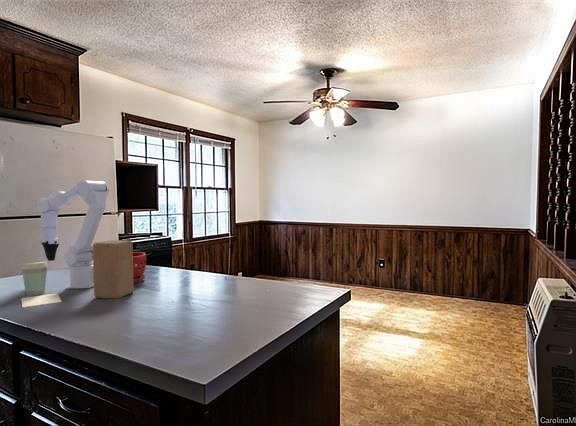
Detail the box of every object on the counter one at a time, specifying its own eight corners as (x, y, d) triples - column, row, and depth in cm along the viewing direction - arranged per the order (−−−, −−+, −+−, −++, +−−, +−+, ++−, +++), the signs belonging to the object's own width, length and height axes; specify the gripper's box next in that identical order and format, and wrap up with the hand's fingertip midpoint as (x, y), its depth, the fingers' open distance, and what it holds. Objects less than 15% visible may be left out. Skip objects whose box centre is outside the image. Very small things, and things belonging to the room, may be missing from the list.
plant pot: (113, 280, 162) (113, 253, 162) (145, 277, 168) (144, 251, 167) (113, 286, 150) (112, 257, 150) (147, 283, 156) (147, 255, 155)
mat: (21, 299, 132) (21, 298, 132) (57, 294, 138) (57, 293, 138) (22, 308, 121) (22, 307, 121) (61, 302, 127) (61, 301, 127)
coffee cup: (54, 291, 143) (53, 260, 142) (37, 297, 134) (36, 264, 134) (33, 290, 144) (32, 260, 143) (15, 296, 135) (14, 264, 135)
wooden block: (117, 299, 130) (116, 243, 129) (93, 298, 132) (91, 242, 131) (134, 292, 140) (133, 240, 139) (111, 291, 142) (110, 239, 141)
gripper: (36, 226, 158) (37, 258, 158) (39, 228, 146) (40, 262, 147) (56, 226, 162) (57, 256, 163) (59, 227, 151) (61, 260, 151)
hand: (50, 259), depth 155 cm, fingers open, 7 cm apart
